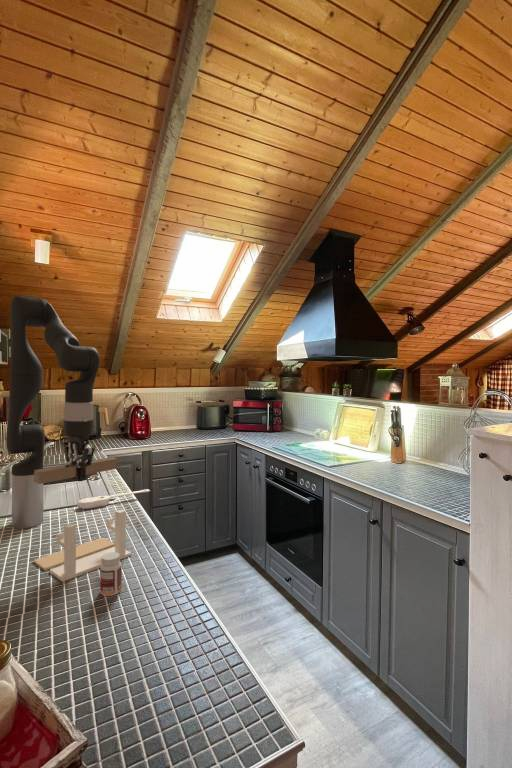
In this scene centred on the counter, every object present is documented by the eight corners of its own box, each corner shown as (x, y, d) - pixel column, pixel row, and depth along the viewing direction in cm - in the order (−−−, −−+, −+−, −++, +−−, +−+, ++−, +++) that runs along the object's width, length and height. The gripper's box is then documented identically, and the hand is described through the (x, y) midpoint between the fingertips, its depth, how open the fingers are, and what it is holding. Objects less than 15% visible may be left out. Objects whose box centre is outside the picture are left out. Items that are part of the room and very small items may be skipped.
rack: (49, 572, 102) (49, 522, 102) (117, 548, 117) (117, 504, 116) (62, 581, 97) (62, 529, 97) (131, 555, 112) (131, 510, 112)
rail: (34, 481, 104) (34, 470, 104) (111, 466, 121) (111, 457, 121) (39, 484, 102) (39, 472, 102) (116, 468, 119) (116, 458, 119)
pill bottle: (114, 583, 97) (114, 549, 97) (125, 590, 94) (125, 555, 94) (95, 591, 93) (96, 556, 93) (106, 599, 90) (107, 562, 90)
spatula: (146, 494, 168) (146, 487, 168) (152, 498, 164) (152, 491, 164) (75, 507, 151) (75, 499, 151) (79, 511, 147) (79, 503, 147)
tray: (33, 562, 107) (33, 560, 107) (103, 539, 123) (103, 537, 123) (44, 570, 103) (44, 568, 103) (115, 545, 118) (115, 543, 118)
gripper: (53, 416, 113) (53, 477, 114) (77, 422, 104) (77, 487, 105) (79, 414, 118) (78, 472, 119) (104, 419, 110) (103, 481, 110)
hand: (78, 479), depth 112 cm, fingers closed on rail, 3 cm apart
